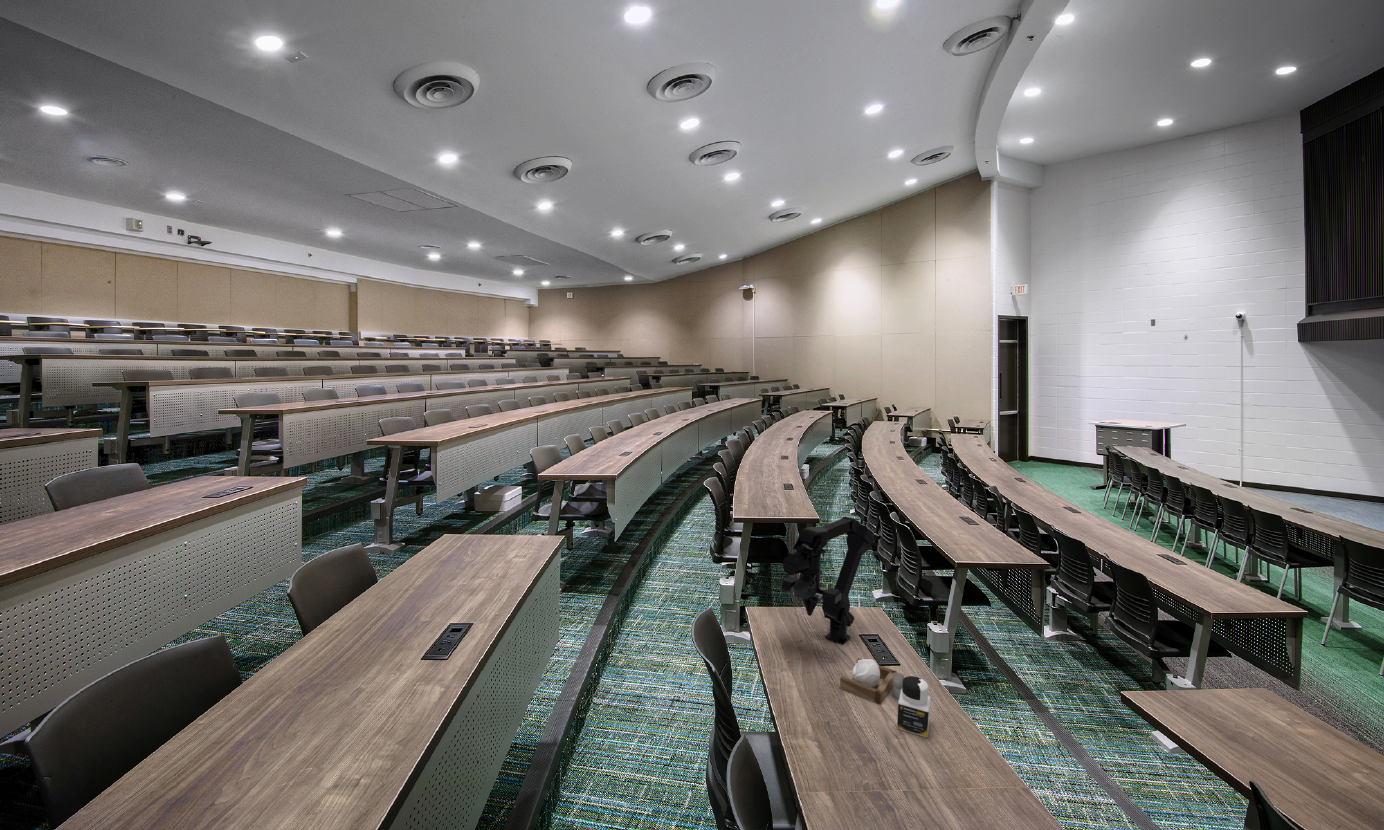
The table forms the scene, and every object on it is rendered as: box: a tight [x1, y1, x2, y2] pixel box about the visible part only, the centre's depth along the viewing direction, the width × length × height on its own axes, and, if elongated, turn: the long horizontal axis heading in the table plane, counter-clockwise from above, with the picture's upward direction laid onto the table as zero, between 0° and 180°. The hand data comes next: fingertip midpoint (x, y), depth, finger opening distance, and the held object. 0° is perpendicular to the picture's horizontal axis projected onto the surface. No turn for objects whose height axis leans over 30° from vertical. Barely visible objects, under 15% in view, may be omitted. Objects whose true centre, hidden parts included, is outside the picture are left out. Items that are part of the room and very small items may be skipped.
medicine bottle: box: [896, 675, 932, 738], centre depth 135 cm, size 7×7×12 cm
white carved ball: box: [852, 658, 881, 688], centre depth 152 cm, size 8×8×8 cm
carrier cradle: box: [839, 657, 905, 705], centre depth 151 cm, size 14×16×6 cm
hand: (809, 615), depth 170 cm, fingers closed
